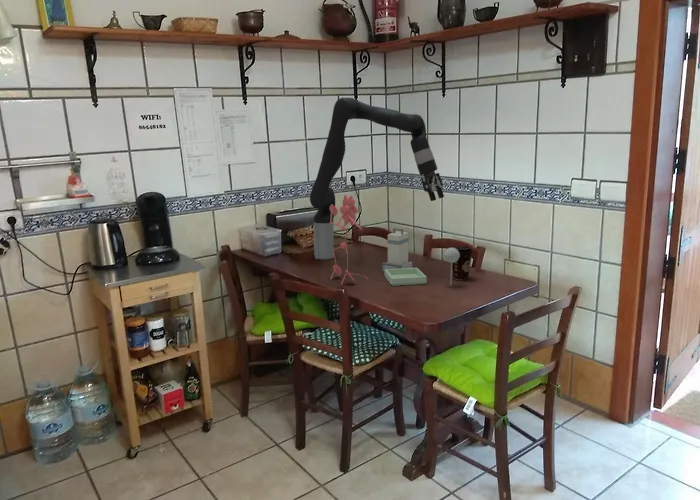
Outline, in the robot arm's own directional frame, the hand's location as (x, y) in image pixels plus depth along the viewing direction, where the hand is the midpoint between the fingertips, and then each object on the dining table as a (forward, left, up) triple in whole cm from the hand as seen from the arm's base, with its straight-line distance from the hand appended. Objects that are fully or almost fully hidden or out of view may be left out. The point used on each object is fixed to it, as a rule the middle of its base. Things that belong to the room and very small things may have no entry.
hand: (437, 199), depth 224 cm
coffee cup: (+7, -10, -32) cm, 34 cm away
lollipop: (0, -18, -32) cm, 36 cm away
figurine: (-37, -3, -32) cm, 49 cm away
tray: (-16, -8, -31) cm, 36 cm away
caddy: (-15, +8, -32) cm, 36 cm away
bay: (-15, +8, -31) cm, 36 cm away
